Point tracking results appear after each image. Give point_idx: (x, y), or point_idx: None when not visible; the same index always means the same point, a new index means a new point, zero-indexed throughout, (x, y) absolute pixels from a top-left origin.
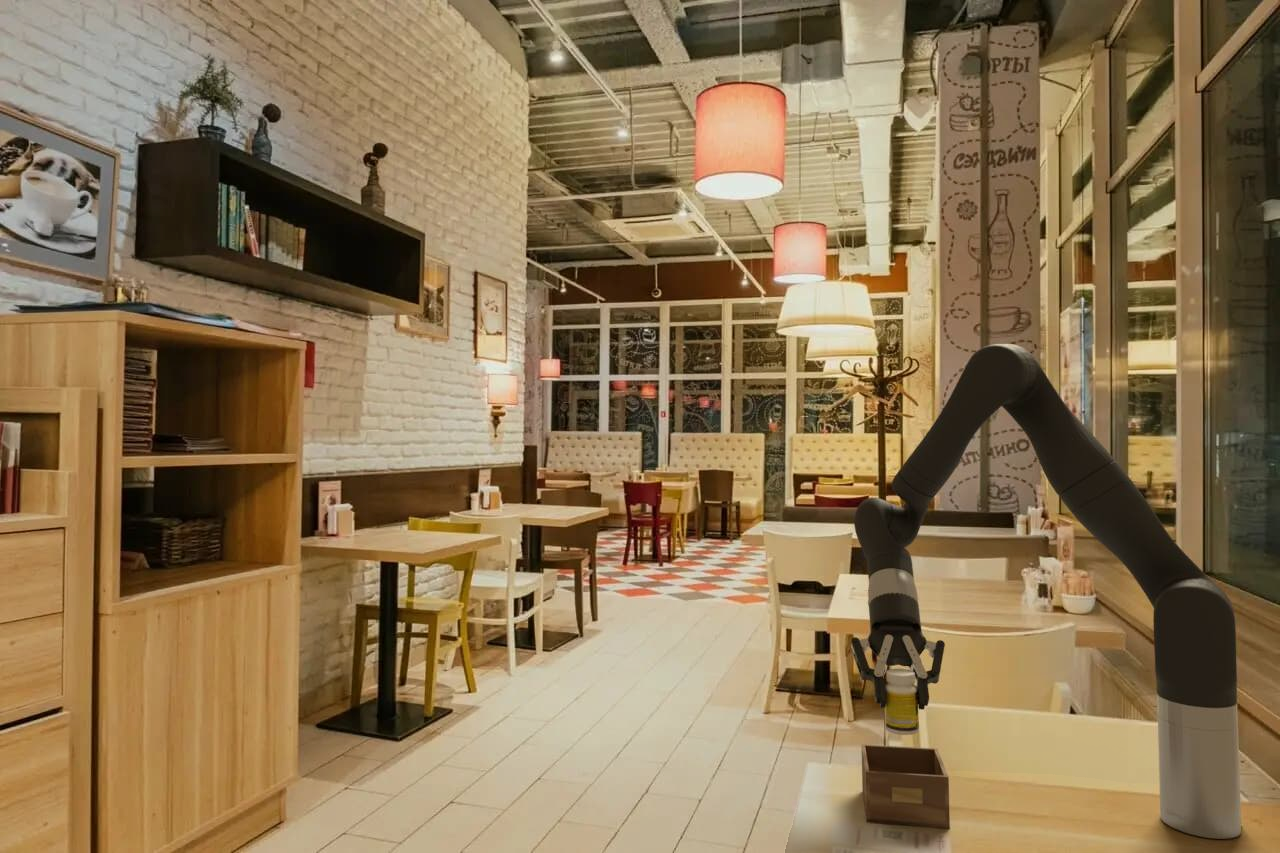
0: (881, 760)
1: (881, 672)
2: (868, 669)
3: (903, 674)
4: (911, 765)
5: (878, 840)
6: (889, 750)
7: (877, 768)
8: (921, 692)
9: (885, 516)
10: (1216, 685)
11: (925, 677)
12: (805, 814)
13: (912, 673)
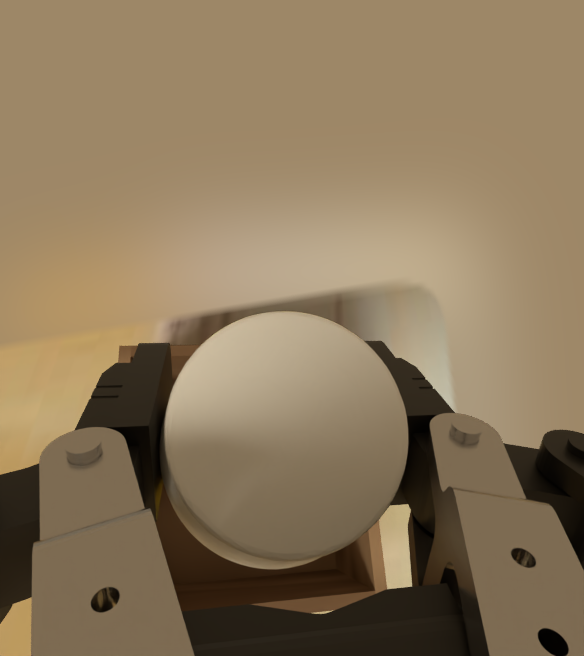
0: (308, 587)
1: (443, 434)
2: (553, 447)
3: (269, 347)
4: (207, 595)
5: (300, 307)
6: (285, 597)
7: (316, 581)
8: (145, 368)
9: None
10: None
11: (73, 432)
12: (452, 397)
13: (188, 389)
